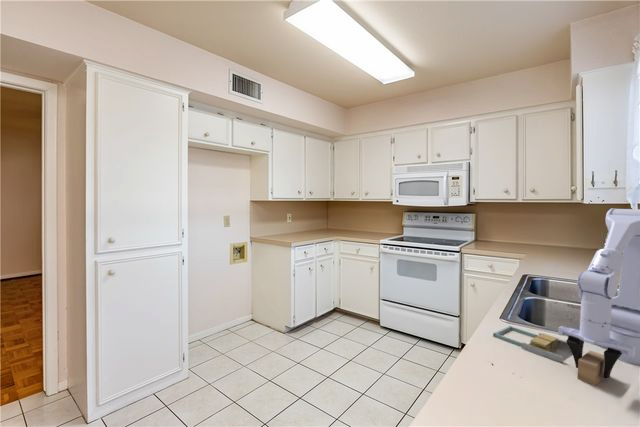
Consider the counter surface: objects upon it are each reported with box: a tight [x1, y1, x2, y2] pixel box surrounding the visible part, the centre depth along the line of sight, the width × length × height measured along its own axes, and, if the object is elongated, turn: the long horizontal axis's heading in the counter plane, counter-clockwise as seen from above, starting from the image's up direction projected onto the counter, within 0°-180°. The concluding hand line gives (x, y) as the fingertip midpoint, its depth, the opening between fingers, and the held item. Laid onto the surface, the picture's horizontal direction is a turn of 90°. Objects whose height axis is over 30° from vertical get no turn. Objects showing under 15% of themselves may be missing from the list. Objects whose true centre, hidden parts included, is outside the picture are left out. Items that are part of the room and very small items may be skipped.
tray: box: [492, 325, 539, 347], centre depth 101 cm, size 11×8×2 cm
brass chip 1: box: [529, 337, 552, 351], centre depth 93 cm, size 4×4×2 cm
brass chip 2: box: [537, 333, 559, 349], centre depth 95 cm, size 4×4×2 cm
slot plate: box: [520, 332, 573, 364], centre depth 93 cm, size 13×10×3 cm
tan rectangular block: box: [576, 350, 605, 387], centre depth 78 cm, size 8×4×6 cm, turn 124°
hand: (592, 372), depth 78 cm, fingers open, 5 cm apart
